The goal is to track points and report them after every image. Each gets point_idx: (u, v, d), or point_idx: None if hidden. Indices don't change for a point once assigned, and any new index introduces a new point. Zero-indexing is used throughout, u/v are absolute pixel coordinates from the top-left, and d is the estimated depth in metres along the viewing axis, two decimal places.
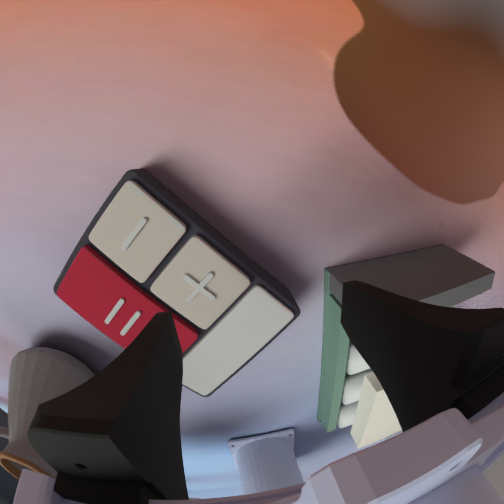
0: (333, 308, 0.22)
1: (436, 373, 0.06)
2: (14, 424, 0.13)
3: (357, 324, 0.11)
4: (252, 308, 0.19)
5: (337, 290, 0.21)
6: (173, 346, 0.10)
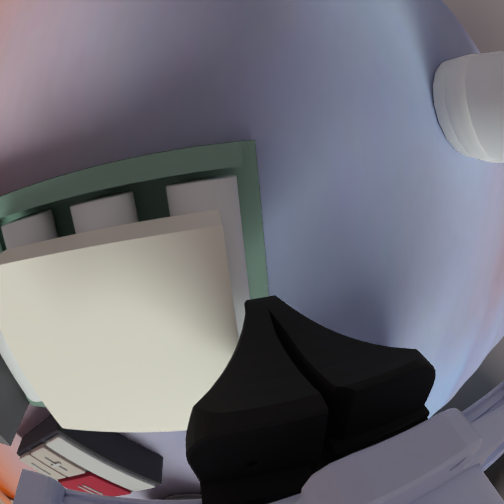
0: None
1: None
2: None
3: None
4: (61, 452, 0.15)
5: None
6: None
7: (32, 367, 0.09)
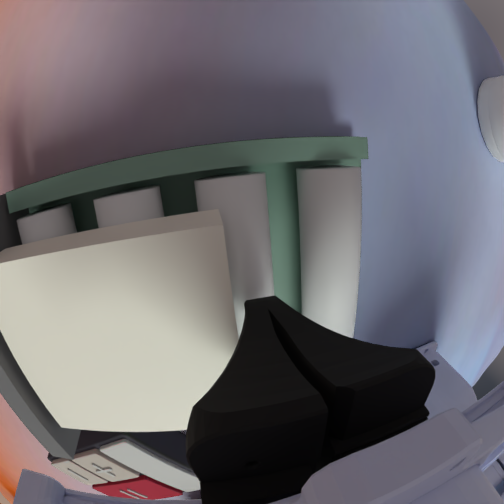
0: None
1: None
2: None
3: None
4: (118, 457, 0.16)
5: None
6: None
7: (31, 366, 0.09)
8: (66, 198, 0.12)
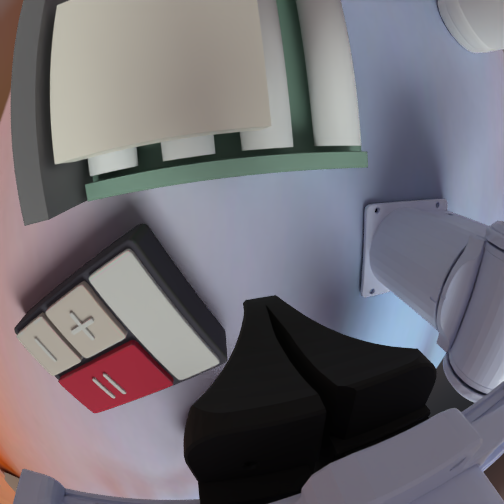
0: None
1: None
2: None
3: None
4: (109, 290, 0.16)
5: None
6: None
7: (64, 73, 0.09)
8: None
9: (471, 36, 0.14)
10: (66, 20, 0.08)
